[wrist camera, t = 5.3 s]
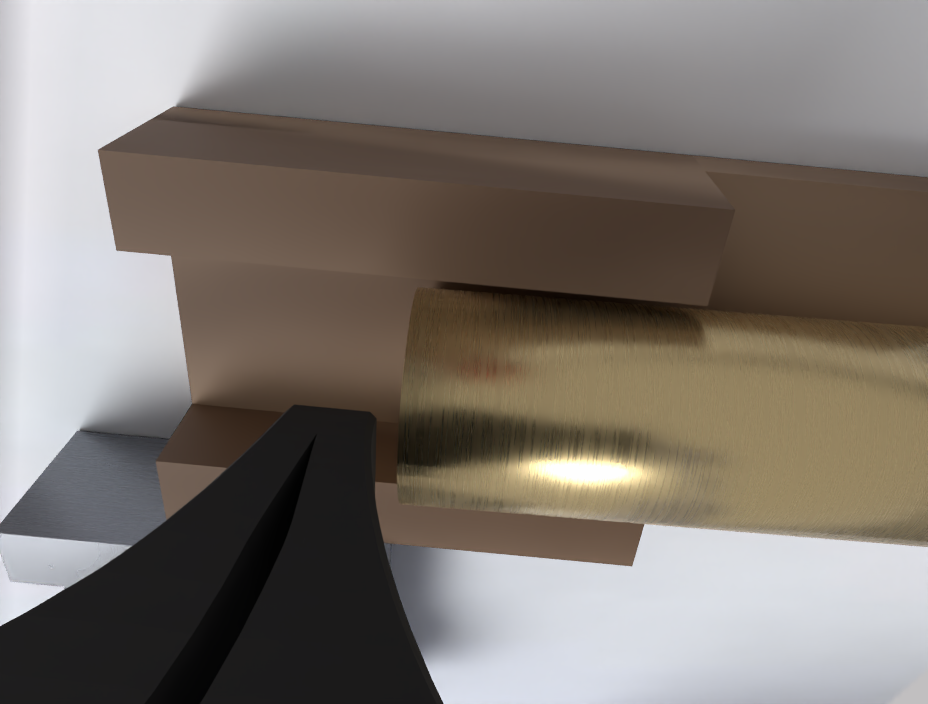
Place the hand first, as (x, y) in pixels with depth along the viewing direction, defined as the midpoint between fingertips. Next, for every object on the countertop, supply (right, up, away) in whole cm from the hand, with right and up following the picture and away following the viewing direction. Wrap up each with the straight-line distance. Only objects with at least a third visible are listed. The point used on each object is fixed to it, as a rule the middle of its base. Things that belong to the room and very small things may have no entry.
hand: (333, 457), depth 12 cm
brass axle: (+7, 0, +2) cm, 7 cm away
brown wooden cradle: (+3, +2, +4) cm, 6 cm away
